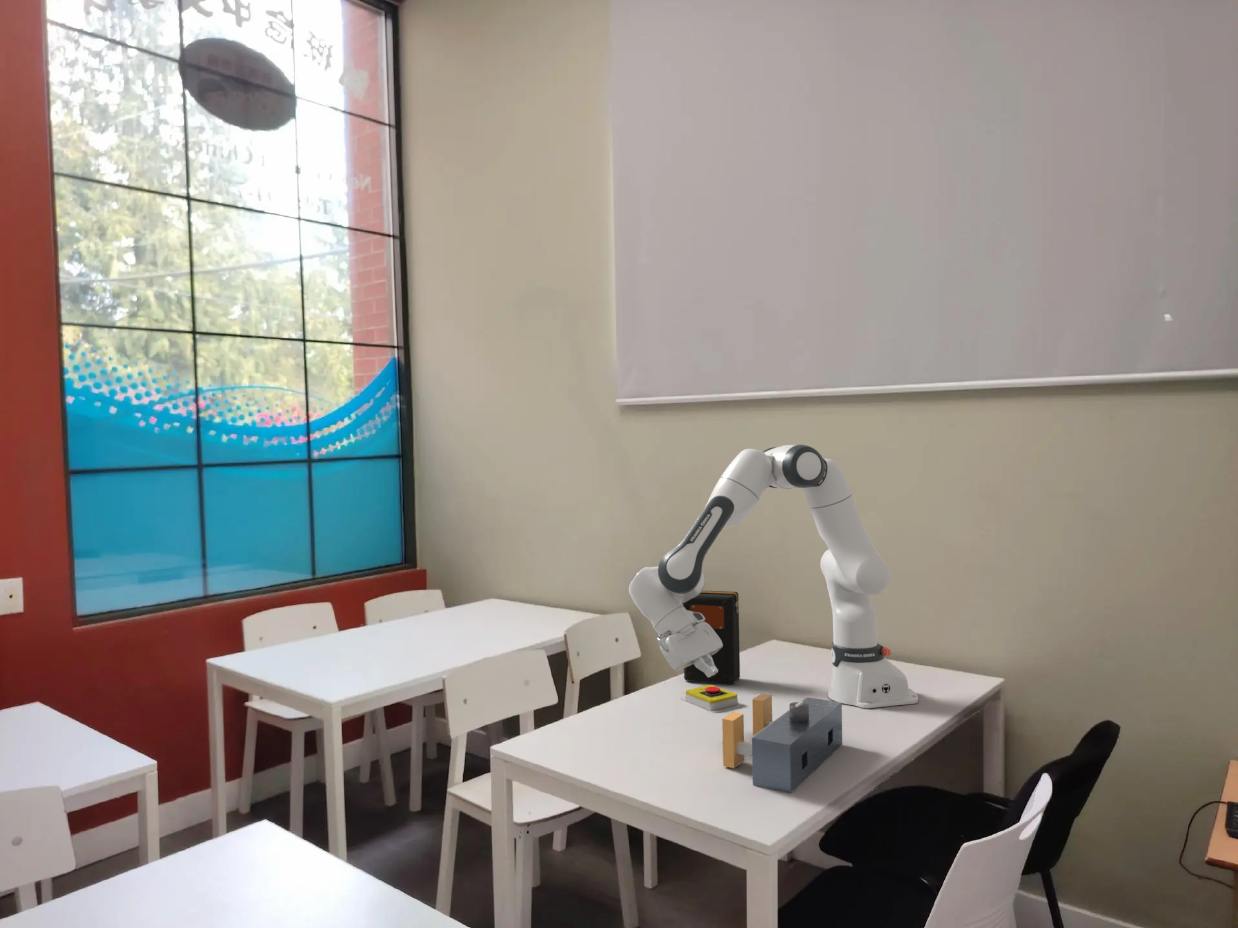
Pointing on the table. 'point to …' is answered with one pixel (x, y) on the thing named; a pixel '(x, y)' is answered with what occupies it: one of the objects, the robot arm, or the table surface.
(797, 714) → the dial
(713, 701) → the emergency button
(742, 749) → the knob
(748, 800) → the table surface
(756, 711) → the knob
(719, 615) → the black box
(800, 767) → the mount
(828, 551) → the robot arm
